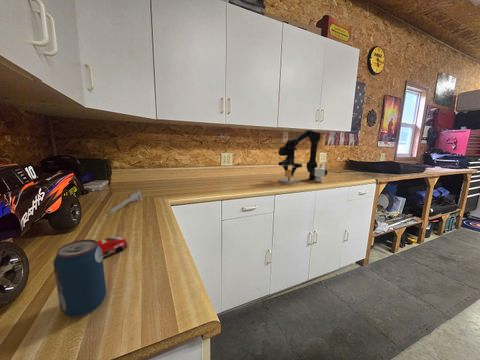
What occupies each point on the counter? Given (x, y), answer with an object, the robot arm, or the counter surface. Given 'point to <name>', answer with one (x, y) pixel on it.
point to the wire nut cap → (288, 173)
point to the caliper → (134, 196)
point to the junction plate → (288, 180)
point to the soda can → (80, 277)
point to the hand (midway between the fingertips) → (289, 175)
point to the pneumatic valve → (319, 173)
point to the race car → (112, 246)
